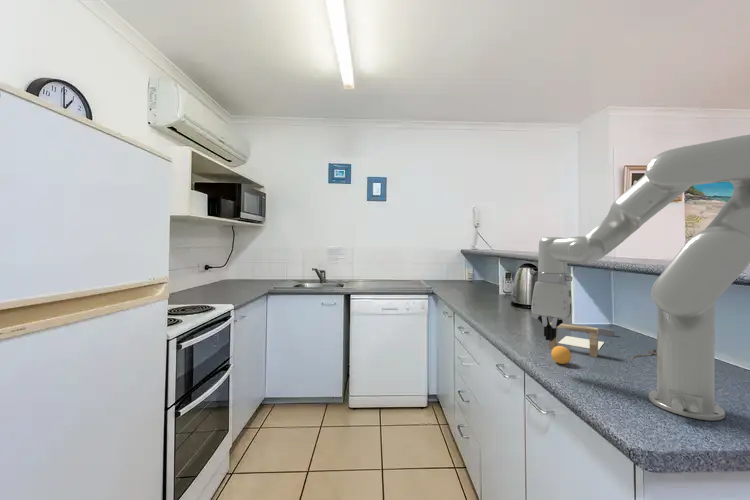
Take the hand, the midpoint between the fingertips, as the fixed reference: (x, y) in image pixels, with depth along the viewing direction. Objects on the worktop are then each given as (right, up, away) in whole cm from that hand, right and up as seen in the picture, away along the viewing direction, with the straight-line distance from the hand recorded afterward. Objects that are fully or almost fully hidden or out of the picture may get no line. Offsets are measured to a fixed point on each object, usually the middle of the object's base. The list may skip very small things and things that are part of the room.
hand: (549, 339), depth 95 cm
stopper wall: (+41, -9, +43) cm, 60 cm away
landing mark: (+28, -9, +28) cm, 41 cm away
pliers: (+41, -10, +13) cm, 44 cm away
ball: (+7, -7, +6) cm, 12 cm away
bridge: (+18, -9, +18) cm, 27 cm away
